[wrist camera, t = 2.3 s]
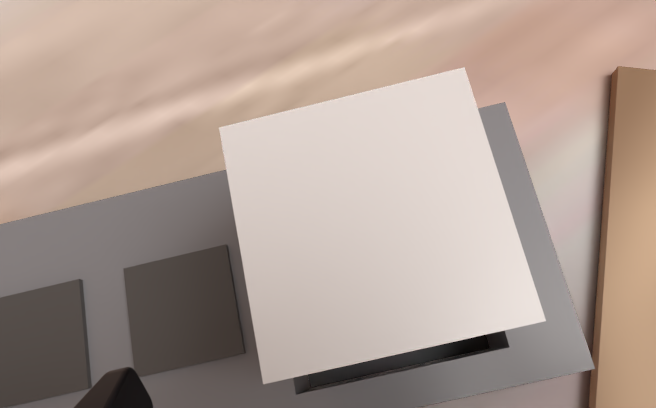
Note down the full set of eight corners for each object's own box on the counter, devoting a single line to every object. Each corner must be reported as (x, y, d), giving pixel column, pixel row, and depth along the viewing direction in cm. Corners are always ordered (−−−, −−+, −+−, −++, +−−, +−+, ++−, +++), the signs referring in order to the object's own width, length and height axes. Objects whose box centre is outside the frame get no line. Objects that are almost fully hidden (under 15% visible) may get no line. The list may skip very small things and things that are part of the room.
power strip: (487, 139, 20) (506, 99, 17) (561, 366, 17) (598, 369, 14) (13, 252, 20) (-54, 234, 17) (24, 483, 18) (-49, 510, 15)
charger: (430, 194, 19) (464, 67, 11) (470, 336, 18) (546, 320, 9) (293, 226, 20) (218, 127, 11) (322, 369, 18) (263, 384, 10)
